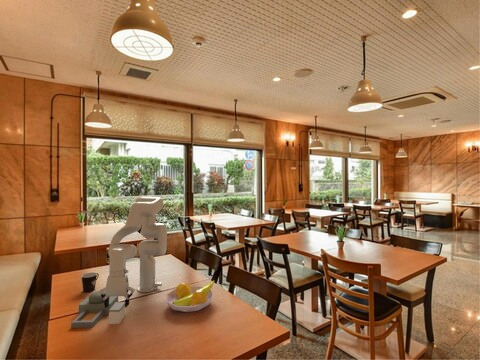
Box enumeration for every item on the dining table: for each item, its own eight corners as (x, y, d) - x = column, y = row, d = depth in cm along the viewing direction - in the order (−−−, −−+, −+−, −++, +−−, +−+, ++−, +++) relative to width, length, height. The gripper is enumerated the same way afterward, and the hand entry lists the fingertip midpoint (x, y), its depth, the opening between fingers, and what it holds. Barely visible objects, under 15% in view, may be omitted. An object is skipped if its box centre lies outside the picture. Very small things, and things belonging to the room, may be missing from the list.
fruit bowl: (165, 321, 133) (166, 299, 133) (166, 297, 159) (166, 278, 159) (220, 314, 140) (220, 293, 140) (212, 292, 166) (212, 274, 166)
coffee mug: (84, 294, 161) (84, 278, 161) (78, 290, 167) (78, 275, 167) (104, 288, 171) (104, 273, 171) (97, 285, 176) (97, 270, 176)
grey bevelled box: (125, 315, 138) (125, 302, 138) (119, 323, 130) (119, 309, 130) (115, 315, 138) (115, 302, 138) (109, 324, 130) (109, 310, 130)
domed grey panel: (118, 303, 150) (118, 289, 150) (99, 326, 127) (99, 310, 127) (89, 304, 149) (89, 290, 149) (64, 328, 126) (64, 311, 126)
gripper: (137, 270, 138) (136, 303, 138) (103, 270, 137) (102, 303, 136) (132, 275, 130) (131, 309, 130) (96, 275, 129) (95, 310, 129)
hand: (116, 306), depth 133 cm, fingers open, 9 cm apart
